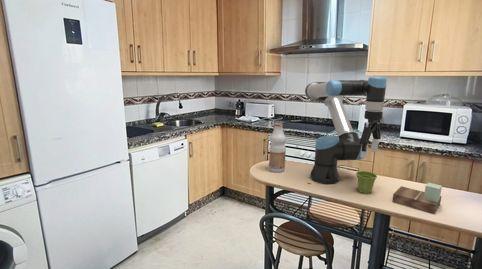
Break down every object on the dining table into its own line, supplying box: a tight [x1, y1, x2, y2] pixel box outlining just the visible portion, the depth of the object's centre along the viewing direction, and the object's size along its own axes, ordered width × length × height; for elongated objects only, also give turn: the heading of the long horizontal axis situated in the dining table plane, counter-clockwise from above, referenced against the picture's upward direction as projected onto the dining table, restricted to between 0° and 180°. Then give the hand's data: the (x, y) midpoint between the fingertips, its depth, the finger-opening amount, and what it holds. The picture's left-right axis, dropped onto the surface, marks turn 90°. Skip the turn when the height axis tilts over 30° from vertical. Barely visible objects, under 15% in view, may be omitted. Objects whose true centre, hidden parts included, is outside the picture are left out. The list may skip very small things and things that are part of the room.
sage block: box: [424, 182, 443, 202], centre depth 120 cm, size 5×5×6 cm
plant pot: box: [355, 170, 378, 194], centre depth 137 cm, size 9×9×9 cm
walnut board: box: [392, 186, 442, 215], centre depth 125 cm, size 16×12×4 cm
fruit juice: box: [268, 122, 287, 174], centre depth 164 cm, size 9×9×28 cm
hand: (368, 154), depth 134 cm, fingers open, 13 cm apart
